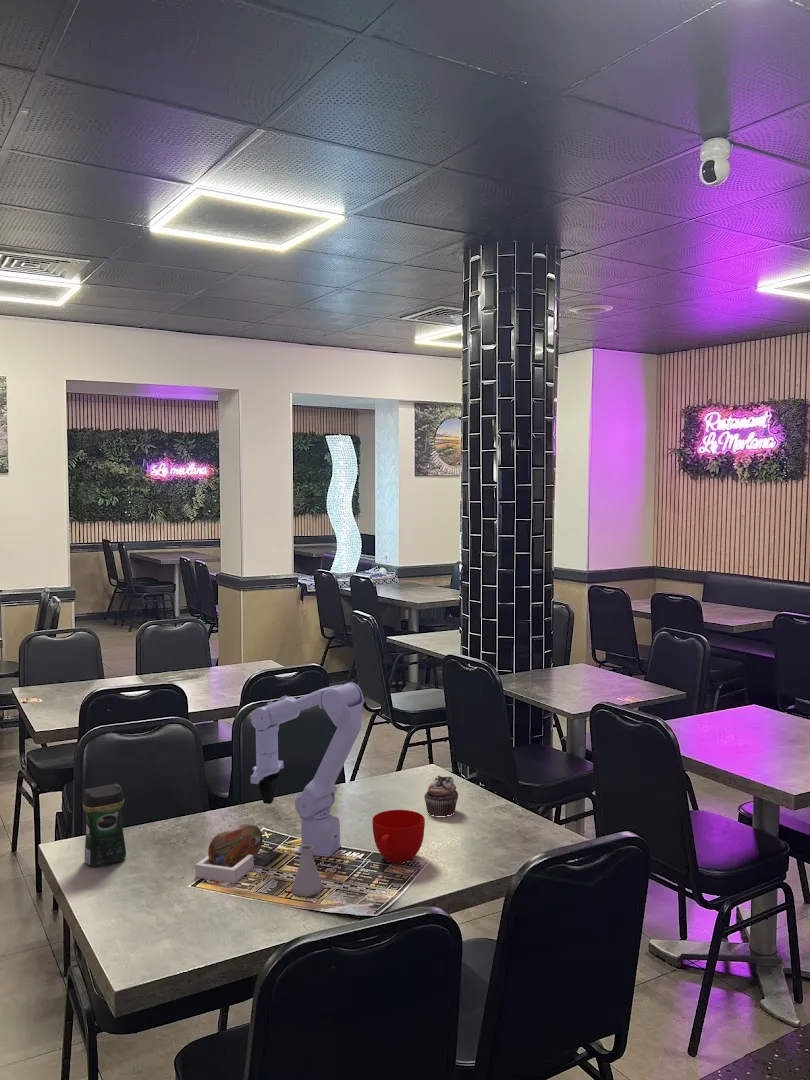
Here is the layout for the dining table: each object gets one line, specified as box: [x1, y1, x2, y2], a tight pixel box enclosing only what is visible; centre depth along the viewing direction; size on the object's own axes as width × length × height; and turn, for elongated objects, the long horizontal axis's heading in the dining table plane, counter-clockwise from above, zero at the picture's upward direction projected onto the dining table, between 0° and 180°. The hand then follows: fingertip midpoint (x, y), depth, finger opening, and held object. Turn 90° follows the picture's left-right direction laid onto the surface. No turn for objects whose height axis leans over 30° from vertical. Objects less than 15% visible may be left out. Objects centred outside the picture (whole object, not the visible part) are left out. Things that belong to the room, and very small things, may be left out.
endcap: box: [194, 855, 255, 884], centre depth 205 cm, size 10×9×3 cm
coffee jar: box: [82, 783, 127, 868], centre depth 213 cm, size 10×8×19 cm
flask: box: [290, 844, 325, 897], centre depth 195 cm, size 7×7×10 cm
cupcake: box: [423, 775, 459, 816], centre depth 244 cm, size 10×10×10 cm
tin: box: [207, 823, 263, 868], centre depth 211 cm, size 15×3×8 cm, turn 139°
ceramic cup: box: [371, 809, 426, 864], centre depth 210 cm, size 13×17×10 cm
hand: (268, 802), depth 226 cm, fingers closed
